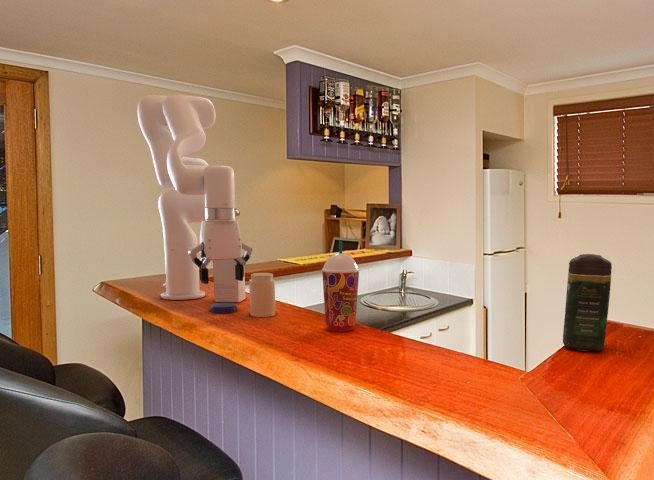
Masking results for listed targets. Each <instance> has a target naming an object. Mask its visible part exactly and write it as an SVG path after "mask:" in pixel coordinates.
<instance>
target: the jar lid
mask: <svg viewBox="0 0 654 480" xmlns="http://www.w3.org/2000/svg"><path fill="white" fill-rule="evenodd" d="M237 311H238V306H237V303H236V302H215V303H212V304H210V312H211V313H212V314H231V313H236V312H237Z"/></svg>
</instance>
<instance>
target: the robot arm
mask: <svg viewBox="0 0 654 480" xmlns="http://www.w3.org/2000/svg"><path fill="white" fill-rule="evenodd" d="M136 109H137V111H136V112H137V113H136V114H137V120H138V121H137V122H138V125H139V128H140V130H141V133H142V135H143V137H144V139H145V141H146V143H147V144H148V146H149V149H150V154H151V158H152V163H153V167H154V170H155V175H156V178H157V181H158V183H159V185H160V186H161V187H162V188H164V189H167V190H165V191H163V192H162V193H161V194H160V195H159V197H158V200H157V201H158V202H157V206H158V211H159V216H160V220H161V226H162V235H163V249H164V251H163V252H164V269H165V282H163V284H162V287H163V288H165V291H164V292H162V293H160V297H161V299H164V300H169V301H170V300H171V301H186V300H196V299H201V298H204V297H205V296H206V292H205V291H204V290H201V289H200V282H201V284H204V285H209V284H210V283H209V281H210V280H209V278H210V277H209V269H208V268H207V267H208V265H209V264H210V262H212V261H213V260H229V259H234V261H235V262H236V263H237V265H235V279H236V280H239V281H243V277H244V270H245V266H246V264H247V262H248V261H249V260H250V259H251V258H250V257H251V255H252V253H253V248H252V247H250V246H248V245H246V244H245V243H244V242H242V235H241V229H240V225H239V221H238V220H236V219H237V217H239V216H240V215H241V211H240V210H237V208H236V188H235V187H236V186H235V185H236V180H235V171H234V169H233V167H231V166H228V165H219V164H218V165H217V164H216V165H215V164H214V165H209V164H208V162H207V161H206V160H205V159H203V158H200V157H191V156H190V155H192V154H194V153H197V152H198V151H200V150H201V149H202V148H204V146H205V144H206V142H207V135H206V133H205V131H204V129H205V130H206V129H211V128H212V127H213V126H214V125H215V123H216V119H217V113H216V112H217V111H216V108H215V106H214V103H213V101H212V100H210V99H209V98H206V97H202V96H196V95H187V94H180V93H179V94H178V93H176V94H175V93H174V94H171V95H163V94H148V95H144V96H142V97H141V98H140V99H139V100H138V102H137V107H136ZM166 127H168V129H169V130H168V129H167V128H166ZM188 156H189V157H188ZM191 223H201V225H200V230H199V231H200V232H199V242H198V236H197V234H196V232H195V231H194V229H192V227H191V226H190V224H191ZM198 243H199V244H198ZM243 250H244V254H243ZM242 254H243V255H242ZM241 256H242V257H241ZM199 257H200V258H201V259H200V258H199Z"/></svg>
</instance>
